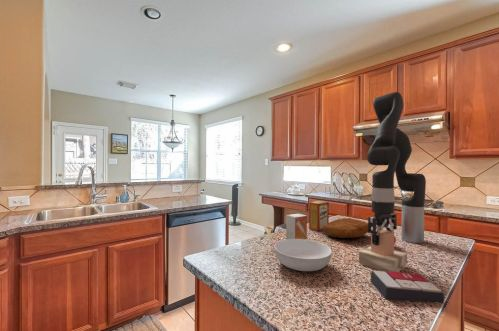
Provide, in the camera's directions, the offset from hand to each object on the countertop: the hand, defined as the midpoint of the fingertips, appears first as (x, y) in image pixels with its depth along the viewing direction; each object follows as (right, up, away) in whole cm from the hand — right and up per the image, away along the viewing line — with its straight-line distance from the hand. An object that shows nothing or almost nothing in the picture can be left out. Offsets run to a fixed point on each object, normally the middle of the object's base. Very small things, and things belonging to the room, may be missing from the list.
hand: (382, 242), depth 90 cm
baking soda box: (-10, -8, +50) cm, 51 cm away
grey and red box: (-4, -9, -19) cm, 21 cm away
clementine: (+13, -8, +20) cm, 25 cm away
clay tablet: (+1, -8, +35) cm, 36 cm away
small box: (-27, -8, +26) cm, 39 cm away
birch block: (0, -9, 0) cm, 8 cm away
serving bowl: (-30, -8, -1) cm, 32 cm away
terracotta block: (0, -4, 0) cm, 4 cm away
